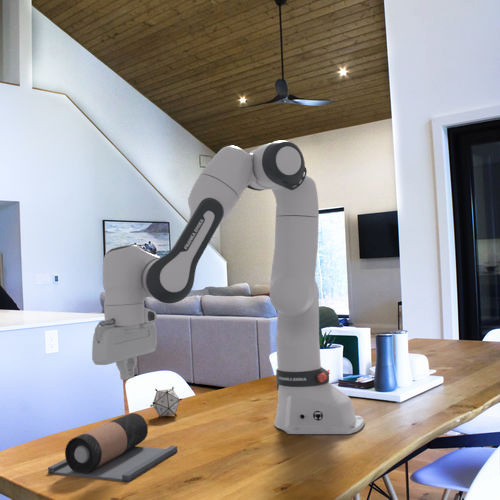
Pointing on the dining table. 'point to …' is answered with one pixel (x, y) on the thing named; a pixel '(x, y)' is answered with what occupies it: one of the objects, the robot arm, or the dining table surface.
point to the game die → (166, 402)
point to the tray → (121, 464)
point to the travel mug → (105, 442)
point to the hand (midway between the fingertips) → (127, 378)
